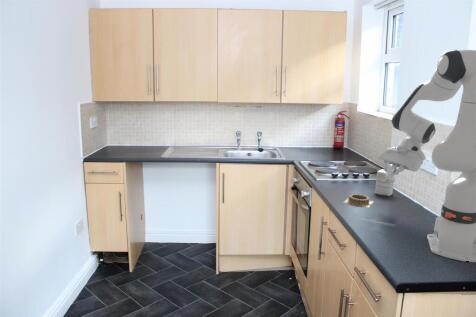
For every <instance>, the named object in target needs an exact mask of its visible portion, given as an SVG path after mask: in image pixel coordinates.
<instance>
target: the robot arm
mask: <svg viewBox="0 0 476 317" xmlns="http://www.w3.org/2000/svg"><path fill="white" fill-rule="evenodd" d="M461 87H462V94H461V97H460V98H461V99H460V104H459V109H458V112H457V113H458V115H457V118H456V121H455V124H454V126H453V129H452V130H451V132H449V134H448V135H447V136H446V138H445V139H444V140H442V141H441V142H439V143H437V144H436V145H435V146H434V148H433V149H432V153H431V160H432V163H433V166H435V167H436V168H437V169H439V170H442V171H446V172H450V173H451V172H452V173H454V172H455V173H460V175H459V176H458V177H457V178H456V179H454V180H452V181H450V182H449V183H448V184H447V185H446V188H445V195H444V200H443V204H442V205H441V209H440V210H441V211H440V215H439V216H437V217H436V218H435V223H434V227H433V230H432V234H431V233H429V234H427V236H426V239H427V241H428V242H427V243H428V246H429V249H430V251H431V253H433V254H435V255H438V256H441V257H443V258H447V259H450V260H451V259H453V260H456V261H461V262H466V261H469V262H468V263H476V50H475V49H464V50H463V49H462V50H459V49H458V50H457V49H452V50H448V51H445V52H444V53H442V54H441V56H440V57H439V59H438V61H437V66H436V69H435V71H434V72H433V75H432V76H431V79H429V80H428V81H425V82H424V81H423V82H421V83H420V84H418V86H417V87H416V88H415V89H414V90H413V92H412V93H411V94H410V95H409V96H408V98H407V99H406V100H405V102H404V103H403V104H402V106H401V107H400V108H399V109H398V110H397V111H396V112H395V113H394V115H393V116H392V118H391V123H392V127H393V128H394V129H396V130H397V131H400V132H403V133H405V134H406V137H405V138H403V139H402V140H401V142H400V143H399V144H398V145H397V147H395V146H391V147H390V146H389V147H387V148H386V149H385V150H383V152H381V153H380V155H379V156H378V160H379V161H380V162H381V163H382V164H385V167H384V168H383V170H384V171H385V172H386V171H387V164H395V165H397V167H396V169H395V170H394V171H393V173H394V174H395V176H398V175H399V173H402V172H403V171H405V170H408V171H411V172H414V173H415V172H417V171H418V170H419V169H420V168H421V167H422V165H423V163H424V161H425V160H426V155H425V153H424V151H422V147H423V146H424V145H425V144H428V143H429V142H430V140H432V138H433V137H434V135H435V134H436V130H437V129H436V126H435V124H434V122H433V121H431V120H429V119H427V118H425V117H422V116H420V115H418V114H417V113H415V112H414V111H413V110H412V109H413V108H414V107H415V106H416V104H417V103H418V101H430V102H431V101H432V102H445V101H449V100H450V99H453V98H454V97H455V95H456V94H457V93H458V92H459V90H460V88H461Z"/></svg>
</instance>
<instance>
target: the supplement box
mask: <svg viewBox="0 0 476 317" xmlns="http://www.w3.org/2000/svg"><path fill="white" fill-rule="evenodd" d="M375 180H376V181H375V189H374V194H377V195H380V196H381V195H382V196H388V197H390V196H392V195H393V193H394V192H393V190H394V184H395V182H394V183H389V182H386V181H385V180H386V172H385V171H384V168H383V169H379V170H378V171H376V178H375Z"/></svg>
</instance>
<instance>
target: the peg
mask: <svg viewBox="0 0 476 317" xmlns="http://www.w3.org/2000/svg"><path fill="white" fill-rule="evenodd" d="M397 168H398V167H397V165H395V164H387V171H386V180H385V181H386V182H389V183H394V184H395V182H396V175H395V174H394V173H393V171H394V170H395V169H396V170H397Z"/></svg>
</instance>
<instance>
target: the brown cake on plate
mask: <svg viewBox="0 0 476 317" xmlns="http://www.w3.org/2000/svg"><path fill="white" fill-rule="evenodd" d="M370 198H371V197H369V196H367V195H365V194H360V193H352V194H349V195H348V198H346V199H345V200H344V201H343V202H342V203H343V204H346V205H347V204H348V205H351V206H355V207H356V206H357V207H361V208H370V207H371V206H372V205H373V203H374V200H371V199H370Z"/></svg>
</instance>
